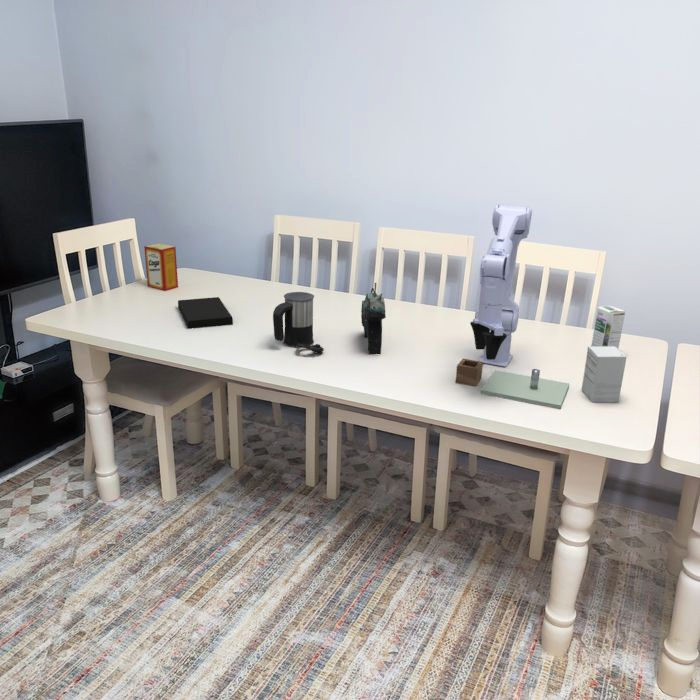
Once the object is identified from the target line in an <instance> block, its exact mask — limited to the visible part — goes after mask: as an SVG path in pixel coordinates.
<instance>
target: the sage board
mask: <svg viewBox="0 0 700 700" xmlns="http://www.w3.org/2000/svg"><path fill="white" fill-rule="evenodd" d="M530 382H531V375H524V374H519V373H514V372H510V371H508V372H507V371H502V370H497V369H494V370H493V372H492V373H491V375H490V376H489V377H488V379H487V381H486V382H485V384H484V385H483V386H482V388H481V389H480V394H482V395H486V396H487V395H488V396H491V395H492V396H491V397H496V396H497V398H501V397H502V398H503V399H506V398H507V400H511V399H512V400H513V401H517V402H523V403H527V404H533V405H537V406H542V407H543V406H544V407H547V408H553V409H559V410H561V408H562V405H563V403H564V400H565V398H566V396H567V393H568V390H569V388H570V382H569V383H567V382H562V381H557V380H552V379H547V378H541V377H539V382H538V389H537V390H533V389H530ZM512 400H511V401H512Z"/></svg>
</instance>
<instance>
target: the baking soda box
mask: <svg viewBox="0 0 700 700" xmlns="http://www.w3.org/2000/svg"><path fill="white" fill-rule="evenodd" d="M144 257H145V258H144V260H145V267H146V268H145V269H146V281H147V287H148V288H151V289H155V290H159V291H163V292H167V291H170V290H173V289H176V288H177V289H178V288H179V281H178V264H177V253H176V246H174V245H169V244H163V243H159V242H158V243H153V244H148V245H144Z"/></svg>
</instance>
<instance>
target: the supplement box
mask: <svg viewBox="0 0 700 700" xmlns="http://www.w3.org/2000/svg"><path fill="white" fill-rule="evenodd" d="M626 362H627V356H626V355H625V354H624V353H623V352H622V351H620V349H619V348H618V349H617V348H616V347H614V346H612V347H592V346H589V345H588V346H587V352H586V357H585V366H584V373H583V379H582V384H581V391H582V393H583V394H584V396H585V397H586V398H587V399H588V400H589V402H591V403H618V402H620V396H621V390H622V385H623V380H624V374H625V368H626Z"/></svg>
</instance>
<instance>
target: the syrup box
mask: <svg viewBox="0 0 700 700" xmlns="http://www.w3.org/2000/svg"><path fill="white" fill-rule="evenodd" d="M625 315H626V310H623V309H621V308H618V307H615V306H612V305H602V306H597V311H596V315H595V321H594V329H593V334H592V340H591V346H592V347H612V346H614V347H616V348H617V349H618V350H619V347H620V342H621V337H622V331H623V327H624V326H623V325H624V321H625Z"/></svg>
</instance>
